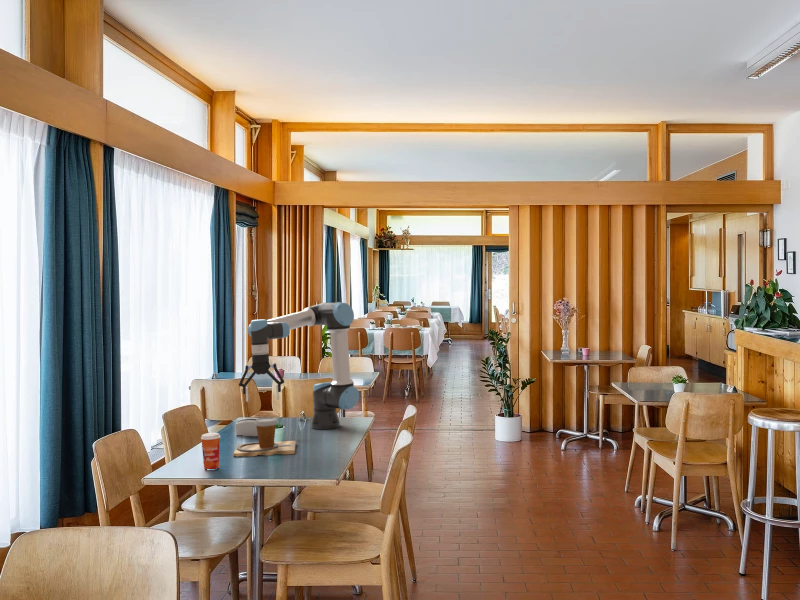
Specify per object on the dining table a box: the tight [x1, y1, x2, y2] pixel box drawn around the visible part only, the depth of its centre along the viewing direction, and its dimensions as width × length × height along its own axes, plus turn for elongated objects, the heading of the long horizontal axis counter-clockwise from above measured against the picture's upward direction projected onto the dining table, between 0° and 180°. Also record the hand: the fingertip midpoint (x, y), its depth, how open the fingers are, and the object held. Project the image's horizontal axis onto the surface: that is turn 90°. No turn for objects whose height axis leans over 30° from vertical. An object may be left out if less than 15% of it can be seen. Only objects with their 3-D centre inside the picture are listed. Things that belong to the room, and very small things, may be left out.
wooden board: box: [233, 440, 297, 457], centre depth 310 cm, size 26×20×2 cm
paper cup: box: [200, 432, 221, 469], centre depth 279 cm, size 8×8×14 cm
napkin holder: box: [235, 417, 259, 437], centre depth 345 cm, size 17×5×10 cm, turn 79°
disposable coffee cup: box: [255, 417, 278, 448], centre depth 310 cm, size 10×10×12 cm
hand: (262, 400), depth 316 cm, fingers open, 13 cm apart
